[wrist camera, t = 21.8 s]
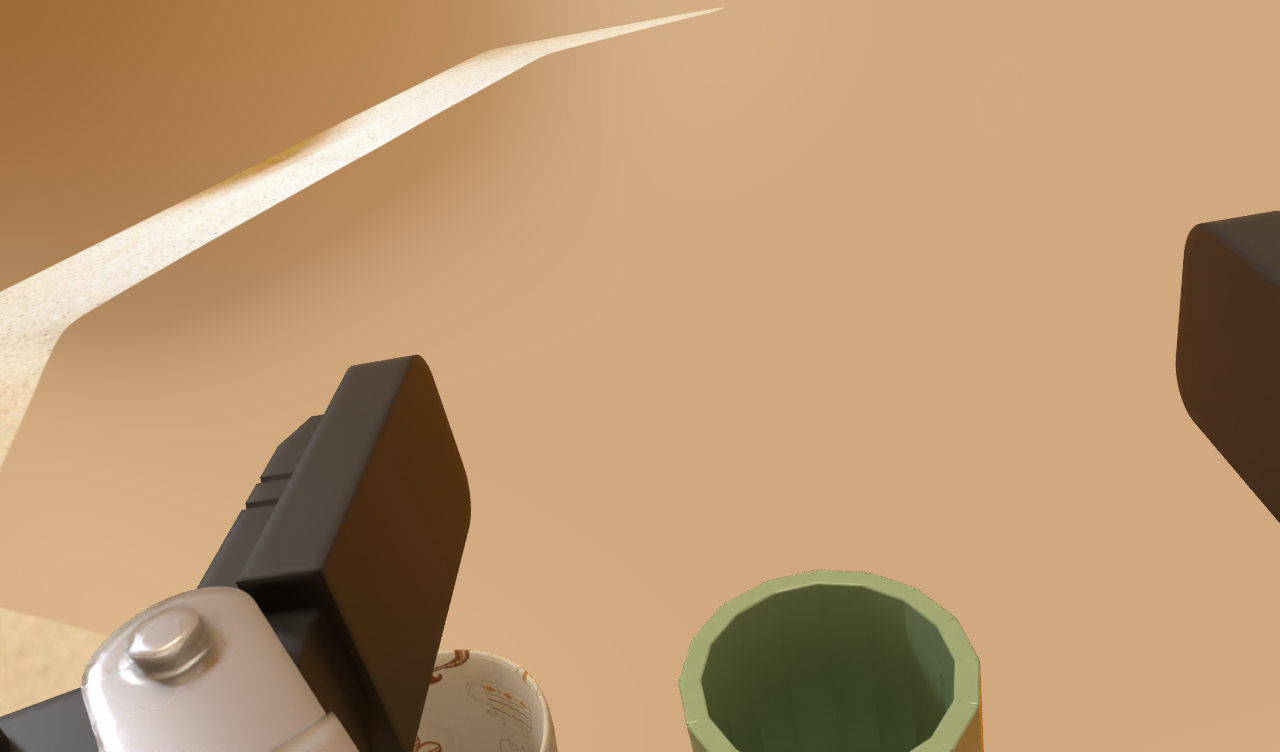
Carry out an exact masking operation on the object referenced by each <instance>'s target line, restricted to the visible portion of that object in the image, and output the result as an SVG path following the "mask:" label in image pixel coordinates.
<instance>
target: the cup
mask: <svg viewBox="0 0 1280 752" xmlns="http://www.w3.org/2000/svg"><path fill="white" fill-rule="evenodd" d="M679 688H680V693H681V699H682V704H683V709H684V714H685V719H686V725H687V729H688V733H689V737H690V741H691V745H692V749H693V752H984V750H983V726H982V701H981V676H980V661H979V658H978V656H977V654H976V652H975V650H974V648H973V647H972V645H971V643H970V641H969V639H968V638H967V636H966V634H965V632H964V631H963V629H962V627H961V625H960V623H959V622H958V620H957V619H956V618H955V617H954V616H953V615H952V614H951V613H949V612H948V611H947V610H945V609H944V608H943V607H941V606H940V605H939V604H937V603H936V602H934V601H933V600H932V599H931V598H929V597H928V596H927V595H925V594H924V593H923V592H921V591H920V590H918V589H916V588H915V587H912V586H909V585H906V584H903V583H900V582H897V581H894V580H891V579H888V578H884V577H882V576H879V575H875V574H873V573H867V572H857V571H856V572H855V571H831V570H816V571H815V570H812V571H808V572H804V573H799V574H795V575H790V576H786V577H782V578H777V579H773V580H769V581H767V582H763V583H761V584H760V585H758V586H756V587H754V588H752V589H751V590H749V591H747V592H745V593H743V594H742V595H740V596H738V597H736V598H734V599H732V600H731V601H729V602H727V603H726V604H724V605H723V606H721V607H720V608H719V609H718V610H717V612H716V613H715V614H714V615H713V616H712V617H711V619H709V621H708V622H707V623H706V624H705V625H704V626H703V627H702V629H701V630H700V631H699V632H698V633H697V634H696V635H695V636H694V637H693V640H692V641H691V644H690V647H689V650H688V654H687V657H686V660H685V663H684V666H683V670H682V673H681V676H680V679H679Z"/></svg>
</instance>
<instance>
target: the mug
mask: <svg viewBox="0 0 1280 752" xmlns="http://www.w3.org/2000/svg"><path fill="white" fill-rule="evenodd" d="M413 752H558V751H557V745H556V738H555V732H554V726H553V722H552V718H551V714H550V710H549V707H548V704H547V701H546V699H545V697H544V695H543V692H542V691H541V689H540V688H539V686H538V684H537V683H536V682H535V681H534V680H533V678H532V677H531V676H530V675H529V674H528V673H527V672H526V671H525V670H524V669H523V668H522V667H520V666H518V665H517V664H515V663H514V662H512V661H510V660H508V659H506V658H503V657H501V656H498V655H495V654H491V653H487V652H482V651H474V650H448V651H440V652H438V653H437V657H436V661H435V665H434V669H433V673H432V677H431V681H430V685H429V689H428V693H427V697H426V701H425V705H424V709H423V713H422V717H421V721H420V725H419V729H418V733H417V737H416V741H415V745H414V749H413Z"/></svg>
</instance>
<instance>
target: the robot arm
mask: <svg viewBox="0 0 1280 752" xmlns="http://www.w3.org/2000/svg"><path fill="white" fill-rule="evenodd" d="M1181 286H1182V287H1181V299H1180V313H1179V324H1178V338H1177V351H1176V375H1177V382H1178V387H1179V391H1180V395H1181V398H1182V400H1183V403H1184V405H1185V408H1186V410H1187V412H1188V414H1189V415H1190V417H1191V418H1192V420H1193V421H1194V422H1195V424H1196V425H1197V426H1198V427H1199V428H1200V430H1201V431H1202V432H1203V433H1204V434H1205V435H1206V437H1207V438H1208V439H1209V440H1210V441H1211V442H1212V444H1213V445H1214V446H1215V447H1216V448H1217V450H1218V451H1219V452H1220V453H1221V454H1222V455H1223V457H1224V458H1225V459H1226V460H1227V461H1228V463H1229V464H1230V465H1231V466H1232V467H1233V468H1234V470H1235V471H1236V472H1237V473H1238V474H1239V476H1240V477H1241V478H1242V479H1243V480H1244V481H1245V483H1246V484H1247V485H1248V486H1249V487H1250V489H1251V490H1252V491H1253V492H1254V493H1255V494H1256V496H1257V497H1258V498H1259V499H1260V500H1261V502H1262V503H1263V504H1264V505H1265V506H1266V507H1267V509H1268V510H1269V511H1270V512H1271V513H1272V514H1273V516H1274V517H1275V518H1276V519H1277V520H1278V522H1279V523H1280V211H1272V212H1267V213H1260V214H1255V215H1248V216H1243V217H1237V218H1231V219H1225V220H1219V221H1213V222H1207V223H1201V224H1198V225H1196V226H1194V228H1193V229H1192V230H1191V231H1190V233H1189V235H1188V238H1187V240H1186V244H1185V250H1184V260H1183V273H1182V285H1181ZM260 478H261V483H259V484H256V486H255V487H254V489H253V491H252V493H251V494H250V496H249V498H248V500H247V501H246V510H241V512H240V514H239V515H238V517H237V519H236V521H235V522H234V524H233V526H232V528H231V529H230V531H229V533H228V535H227V536H226V538H225V540H224V542H223V544H222V545H221V547H220V549H219V550H218V552H217V554H216V556H215V557H214V559H213V561H212V563H211V564H210V566H209V568H208V570H207V571H206V573H205V575H204V577H203V578H202V580H201V582H200V584H199V585H198V587H197V589H195V590H191V591H187V592H183V593H180V594H178V595H175V596H172V597H170V598H167V599H165V600H163V601H161V602H159V603H157V604H154V605H152V606H151V607H149V608H147V609H146V610H144V611H142V612H141V613H139V614H137V615H136V616H134V617H133V618H131V619H130V620H129V621H127V622H126V623H124V624H123V625H122V626H121V627H120V628H119V629H117V630H116V631H115V632H114V633H113V634H112V635H111V636H110V637H109V638H108V639H107V640H106V641H105V642H104V643H103V644H102V645H101V646H100V647H99V649H98V650H97V651H96V652H95V654H94V655H93V657H92V658H91V660H90V661H89V663H88V665H87V667H86V669H85V672H84V674H83V677H82V684H81V687H80V688H78V689H75V690H72V691H70V692H67V693H64V694H61V695H59V696H56V697H53V698H51V699H48V700H45V701H42V702H40V703H37V704H34V705H32V706H29V707H26V708H24V709H21V710H18V711H15V712H13V713H10V714H7V715H5V716H2V717H0V752H413V749H414V745H415V741H416V737H417V733H418V729H419V725H420V721H421V717H422V713H423V709H424V705H425V701H426V697H427V693H428V689H429V685H430V681H431V677H432V673H433V669H434V665H435V661H436V657H437V653H438V649H439V645H440V641H441V637H442V633H443V629H444V625H445V621H446V617H447V613H448V610H449V606H450V602H451V598H452V594H453V590H454V585H455V582H456V578H457V574H458V570H459V566H460V562H461V557H462V554H463V550H464V546H465V542H466V538H467V534H468V530H469V525H470V517H471V502H470V492H469V486H468V481H467V476H466V472H465V469H464V466H463V463H462V460H461V457H460V454H459V451H458V448H457V446H456V442H455V440H454V437H453V434H452V431H451V428H450V425H449V422H448V419H447V416H446V414H445V410H444V408H443V405H442V402H441V399H440V396H439V393H438V390H437V388H436V385H435V382H434V378H433V376H432V373H431V371H430V369H429V367H428V365H427V363H426V362H425V360H424V359H423V358H422V357H421V356H419V355H412V356H406V357H400V358H394V359H389V360H383V361H377V362H371V363H365V364H360V365H354V366H351V367H350V368H349V369H348V370H347V372H346V374H345V375H344V377H343V379H342V381H341V383H340V385H339V387H338V389H337V391H336V392H335V394H334V396H333V398H332V400H331V402H330V404H329V406H328V408H327V410H326V412H325V414H324V415H319V416H312V417H310V418H309V419H308V420H307V421H306V422H305V423H304V424H303V425H301V426H300V427H299V428H298V429H297V430H296V431H295V432H294V433H292V435H290V436H289V437H288V438H287V439H286V440H285V441H283V442H282V443H281V444H280V445H279V446H278V447H277V449H276V451H275V453H274V454H273V456H272V458H271V459H270V461H269V463H268V465H267V467H266V468H265V470H264V472H263V473H262V475H261V477H260Z"/></svg>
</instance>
